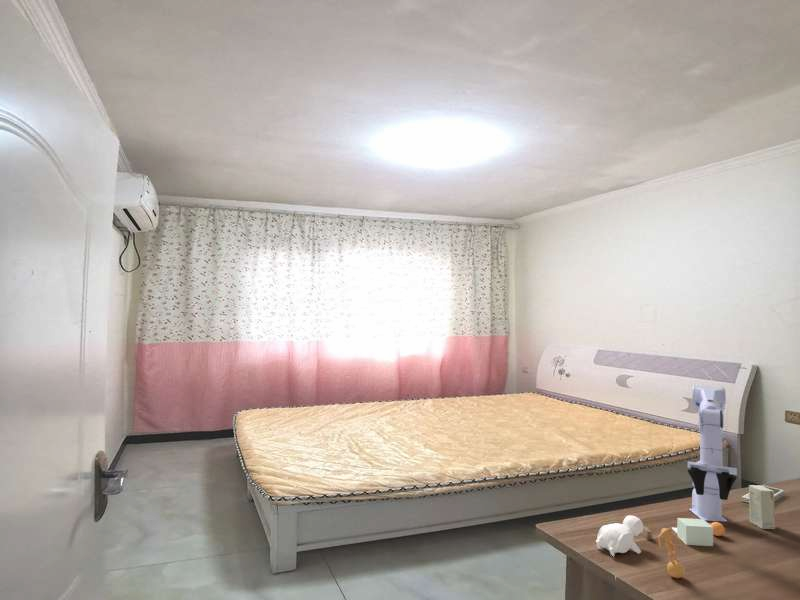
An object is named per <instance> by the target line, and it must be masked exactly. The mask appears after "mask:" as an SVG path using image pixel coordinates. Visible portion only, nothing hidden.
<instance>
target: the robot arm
mask: <svg viewBox="0 0 800 600" xmlns="http://www.w3.org/2000/svg"><path fill="white" fill-rule="evenodd" d="M726 394H727V393H726V388H725V387H723V386H722V387H718V386H717V387H716V386H704V385H693V386H692V407H693V409H694V410H695V411H697V412H698V418H697V419H698V426H699V427H698V428H699V433H700V434H699V448H700V449H699V460H698V461H696V462H694V461H687V473H688V475H689V476H690V478H691V479H692V480H691V481H692V487H693V489H692V493H691V497H692V499H691V506H692V507H691V508H689V511H691V512H692V513H693V514H694V515H695V516H697V517H698V519H703V520H705V521H706V522H724V523H726V522H728V520H727V519H726V518H725V517H723V516H722V501H728V499H729V495H730V491H731V489H732V486H733V485H734V483H735V482H736V480H737V476H738V468H736V467H731V466H730V467H729V466H724V465H723V430H724V426H725V417H724V416H725V415H724V410H725V407H726V403H727V402H726V401H727V400H726V398H727V397H726ZM688 468H689V469H688Z"/></svg>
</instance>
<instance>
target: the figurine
mask: <svg viewBox="0 0 800 600" xmlns="http://www.w3.org/2000/svg"><path fill="white" fill-rule="evenodd" d="M672 536H673V537H675V539H676V540H677V541H678V542H679V543H680V545H681V546H683V544H682V540H681V539H680V538H679V537H678V536H677V535H676V532H674V531H672V528H671V527H668V528H666V527H663V528H661V530H660V534H659V535H658V536H657V540H658V541H657V542H658V545H659V550H660V551H661V552H662V551H663V550H664V549H663V547H662V542H661V538H663V539H664V540H665V543H664V545H665V547H666V549H667V550H668V553H667V554H668V558H669V560H670V561H669V562H668V564H667V566H666V569H667V573H668V574H669V576H671V577H673V578H675V579H681V578H682V577H684V575H685V567H684V565H682V563H681V562H679V560H677V558H676V554H677V553H678V551H679V550H678V548H677V547H676V545H675V543H674V541H672ZM673 550H674V551H673ZM672 558H673V559H672Z"/></svg>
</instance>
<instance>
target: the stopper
mask: <svg viewBox="0 0 800 600" xmlns="http://www.w3.org/2000/svg"><path fill="white" fill-rule="evenodd" d="M634 516H635V515H634ZM635 517H637V518H639V517H638V516H635ZM642 524H643V531H642V532H641V533H640V534H641V535H643V537H644V538H645V539H646V540H647V541H652V539H653V538H652V533H653V532H652V531H651V530H650V529H649V528H648V526H646V525H645V524H644V523H643V522H642Z"/></svg>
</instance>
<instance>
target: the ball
mask: <svg viewBox="0 0 800 600" xmlns="http://www.w3.org/2000/svg"><path fill="white" fill-rule="evenodd" d="M710 525H711V526H712V527H713V536H716V537H721V536H723V535H724V534H725V531H726V530H725V529H726V528H725V527H724V525H723V524H722V523H720V522H719V521H712V523H710Z"/></svg>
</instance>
